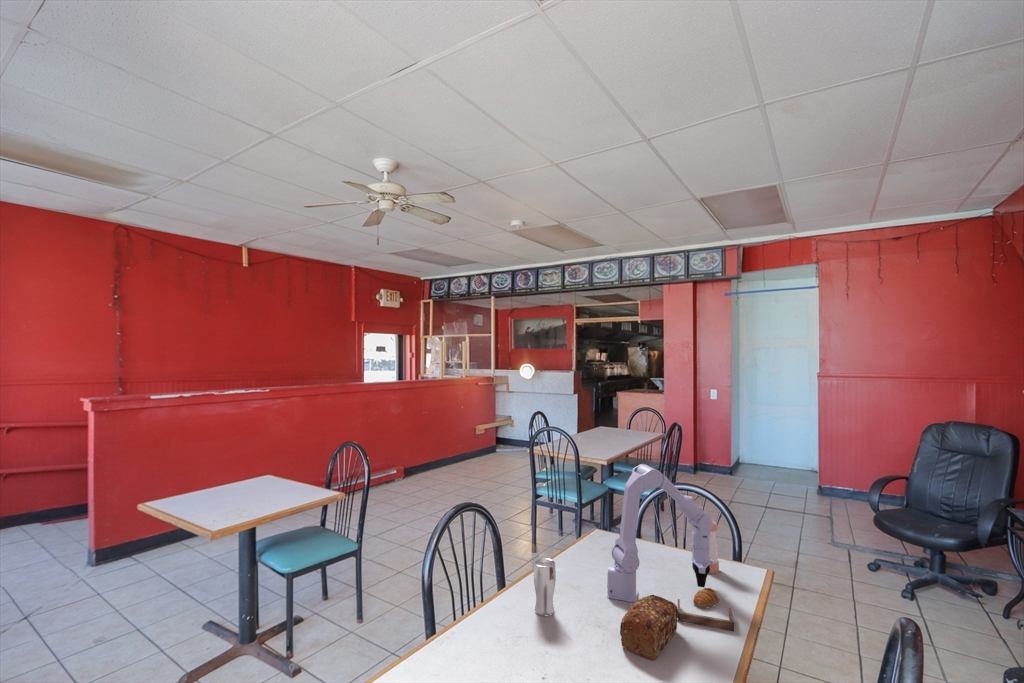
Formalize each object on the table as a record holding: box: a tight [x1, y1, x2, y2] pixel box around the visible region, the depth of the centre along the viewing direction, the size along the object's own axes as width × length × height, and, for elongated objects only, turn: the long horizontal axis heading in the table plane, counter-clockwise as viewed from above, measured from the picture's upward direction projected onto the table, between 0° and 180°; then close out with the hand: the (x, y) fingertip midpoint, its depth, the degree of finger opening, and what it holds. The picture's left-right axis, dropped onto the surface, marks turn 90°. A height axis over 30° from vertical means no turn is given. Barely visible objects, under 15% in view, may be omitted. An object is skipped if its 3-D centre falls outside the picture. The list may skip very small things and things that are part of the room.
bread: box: [619, 594, 679, 661], centre depth 132 cm, size 19×11×10 cm, turn 141°
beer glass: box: [533, 557, 557, 616], centre depth 147 cm, size 7×7×15 cm
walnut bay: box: [677, 598, 735, 632], centre depth 143 cm, size 16×9×2 cm, turn 71°
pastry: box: [692, 587, 721, 609], centre depth 152 cm, size 9×7×4 cm
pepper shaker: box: [708, 520, 720, 574], centre depth 178 cm, size 7×7×19 cm
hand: (701, 586), depth 161 cm, fingers closed
